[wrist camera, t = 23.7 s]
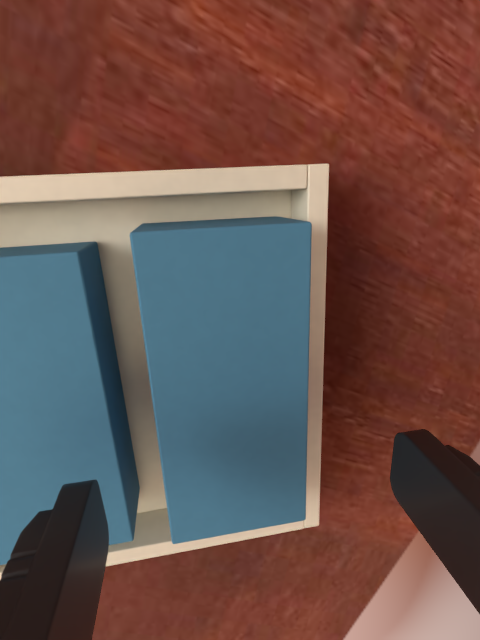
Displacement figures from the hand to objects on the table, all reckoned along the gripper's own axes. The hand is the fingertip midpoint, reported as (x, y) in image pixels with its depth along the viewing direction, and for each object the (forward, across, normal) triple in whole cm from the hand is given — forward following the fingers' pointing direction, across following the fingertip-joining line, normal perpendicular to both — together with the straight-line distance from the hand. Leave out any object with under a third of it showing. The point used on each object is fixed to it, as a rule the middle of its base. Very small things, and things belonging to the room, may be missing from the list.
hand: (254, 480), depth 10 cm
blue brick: (+7, +7, 0) cm, 10 cm away
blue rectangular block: (+7, 0, 0) cm, 7 cm away
